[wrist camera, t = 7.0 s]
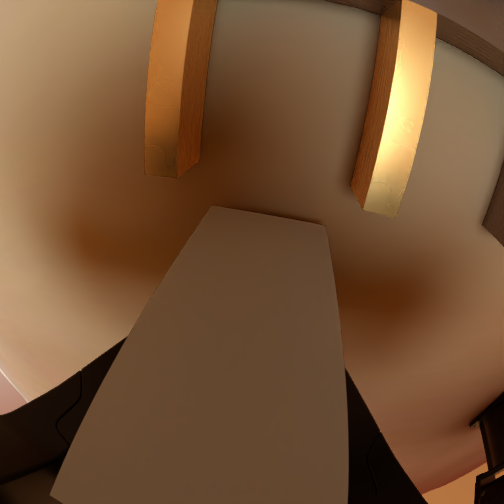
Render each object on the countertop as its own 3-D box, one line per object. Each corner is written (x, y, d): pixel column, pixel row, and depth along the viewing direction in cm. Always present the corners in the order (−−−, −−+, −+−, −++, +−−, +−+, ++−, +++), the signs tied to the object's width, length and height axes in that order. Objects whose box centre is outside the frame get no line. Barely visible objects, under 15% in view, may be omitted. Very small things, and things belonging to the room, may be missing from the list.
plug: (296, 322, 12) (269, 577, 3) (206, 305, 12) (121, 544, 3) (325, 225, 9) (333, 616, 1) (211, 205, 9) (32, 543, 1)
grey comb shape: (558, 257, 8) (576, 278, 6) (159, 156, 9) (129, 173, 7) (596, 109, 3) (619, 119, 1) (189, -68, 4) (167, -91, 3)
